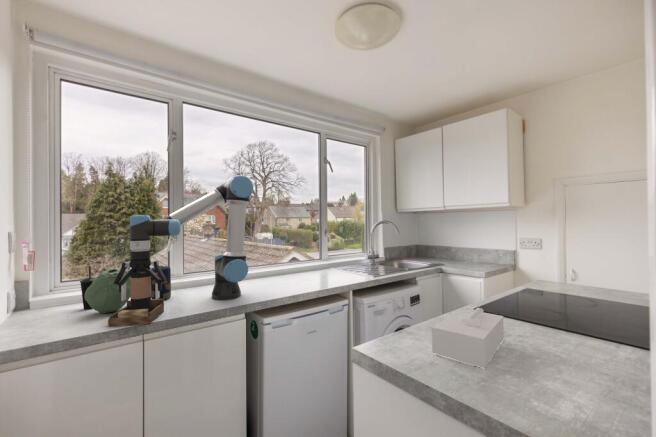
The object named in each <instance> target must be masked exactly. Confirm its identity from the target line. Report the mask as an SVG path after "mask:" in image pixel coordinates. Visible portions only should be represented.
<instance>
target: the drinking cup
mask: <svg viewBox="0 0 656 437" xmlns="http://www.w3.org/2000/svg"><path fill="white" fill-rule="evenodd" d="M91 270H92V268H91V266H88V277H86V278H83V279H81V280H79V283H80V290H81V297H82V299H81V300H82V307H83V310H84V311H87V310H94V309H93V308H91V307H90V305H89V304H88V302H87V301H86V300H85V292H86V290H87V288H88V287H89V286H90V285H91V284H92V282H93V280H94V279H95V278H96V277H95V276H94V277H93V276H91V275H92V272H91Z"/></svg>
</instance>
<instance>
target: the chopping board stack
mask: <svg viewBox="0 0 656 437" xmlns="http://www.w3.org/2000/svg"><path fill="white" fill-rule="evenodd" d="M142 316H148V309H137V310H122V311H120V312H119V313H118V318H127V317H142Z"/></svg>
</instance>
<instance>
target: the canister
mask: <svg viewBox="0 0 656 437" xmlns="http://www.w3.org/2000/svg"><path fill="white" fill-rule="evenodd" d="M159 266H160V268H161V270H162V272H163V274H164V276H165V277H166V281H164V282H162V290H160V297H159V298H158V299H164V300H167V299H170V297H171V296H172V283H171V282H172V278H171V277H172V276H171V275H172V274H171V273H172V272H171V271H172V270H171V267H170V266H167V265H164V266H163V265H162V264H161V265H160V264H159ZM151 269H152V270H153V272H154V273H155V274H156V275H157V276H158V277H159V275H158V273H157V272H156V270H155V268H154V267H151ZM159 278H160V277H159ZM156 283H157V282H156V281H155V280H154V279H153V278H152V277H151V299H156V294H155V284H156Z"/></svg>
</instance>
